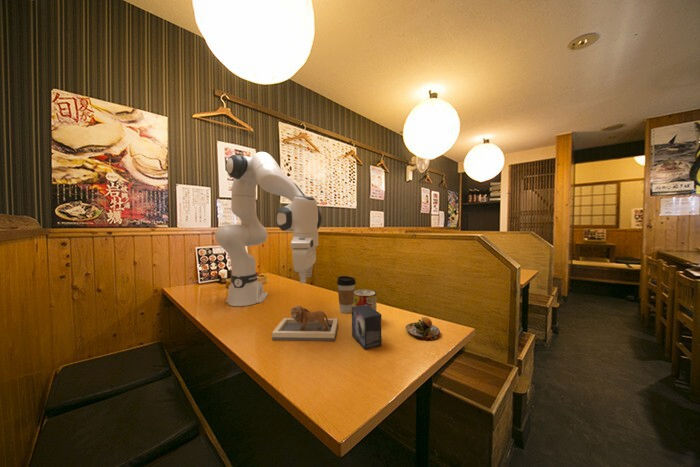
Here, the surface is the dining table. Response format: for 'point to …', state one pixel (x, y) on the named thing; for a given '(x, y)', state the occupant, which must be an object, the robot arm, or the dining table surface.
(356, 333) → the small box
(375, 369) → the dining table surface
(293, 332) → the picture frame
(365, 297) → the yellow food can
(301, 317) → the lion figurine
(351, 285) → the coffee cup
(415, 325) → the plate of food
